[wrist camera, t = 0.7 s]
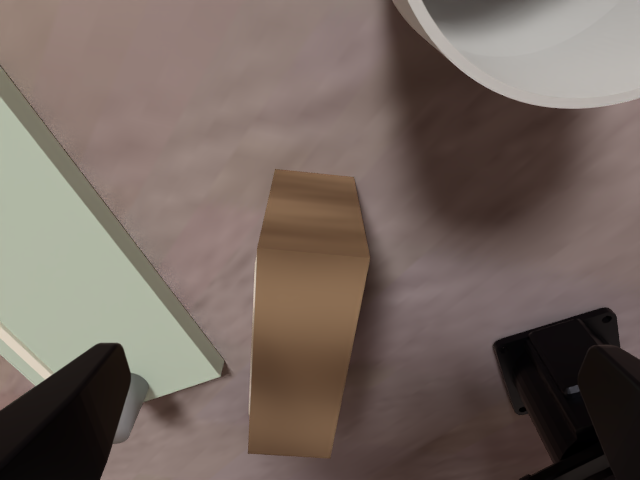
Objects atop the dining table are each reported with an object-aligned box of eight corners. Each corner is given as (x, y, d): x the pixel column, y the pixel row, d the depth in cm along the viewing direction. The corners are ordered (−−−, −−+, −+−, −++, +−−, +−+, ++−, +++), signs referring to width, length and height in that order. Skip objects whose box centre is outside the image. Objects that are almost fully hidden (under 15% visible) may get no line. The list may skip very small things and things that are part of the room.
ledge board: (224, 360, 25) (209, 422, 22) (86, 407, 27) (51, 471, 24) (-4, 60, 17) (-90, 79, 14) (-179, 158, 19) (-295, 197, 15)
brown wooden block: (326, 345, 25) (330, 458, 19) (261, 340, 25) (244, 453, 19) (353, 176, 20) (370, 258, 14) (272, 168, 20) (252, 247, 14)
